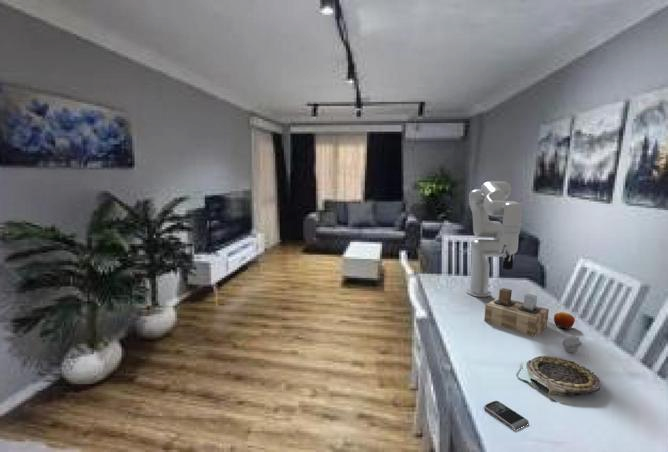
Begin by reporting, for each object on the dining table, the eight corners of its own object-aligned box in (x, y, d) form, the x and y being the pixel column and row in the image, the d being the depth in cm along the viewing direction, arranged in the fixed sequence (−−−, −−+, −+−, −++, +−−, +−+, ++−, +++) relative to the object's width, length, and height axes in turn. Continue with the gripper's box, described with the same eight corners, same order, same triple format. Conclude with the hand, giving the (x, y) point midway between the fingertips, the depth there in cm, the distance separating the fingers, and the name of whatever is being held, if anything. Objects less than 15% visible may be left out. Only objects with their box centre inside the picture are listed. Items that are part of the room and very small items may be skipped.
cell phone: (495, 403, 112) (496, 399, 112) (529, 425, 102) (530, 421, 102) (481, 409, 109) (482, 405, 109) (515, 433, 99) (516, 428, 99)
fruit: (554, 326, 164) (555, 309, 166) (552, 329, 170) (553, 312, 173) (575, 330, 160) (576, 312, 163) (573, 333, 166) (573, 316, 169)
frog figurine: (572, 357, 140) (574, 340, 138) (556, 348, 146) (558, 332, 145) (584, 355, 141) (587, 338, 140) (568, 347, 148) (570, 330, 147)
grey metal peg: (525, 312, 168) (527, 293, 167) (535, 314, 166) (537, 295, 164) (522, 314, 166) (524, 295, 164) (532, 316, 163) (534, 297, 161)
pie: (526, 354, 143) (528, 342, 142) (614, 381, 126) (616, 367, 125) (507, 386, 121) (508, 372, 120) (610, 424, 104) (612, 408, 103)
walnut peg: (501, 305, 176) (503, 287, 175) (510, 307, 173) (511, 289, 172) (498, 307, 174) (499, 289, 172) (506, 309, 171) (508, 291, 169)
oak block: (498, 312, 184) (499, 295, 182) (546, 325, 168) (548, 307, 167) (484, 320, 173) (485, 302, 172) (534, 336, 157) (536, 316, 156)
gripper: (509, 226, 176) (506, 264, 179) (495, 230, 165) (492, 269, 168) (526, 228, 170) (522, 267, 173) (512, 232, 160) (509, 273, 163)
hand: (507, 268), depth 171 cm, fingers closed
